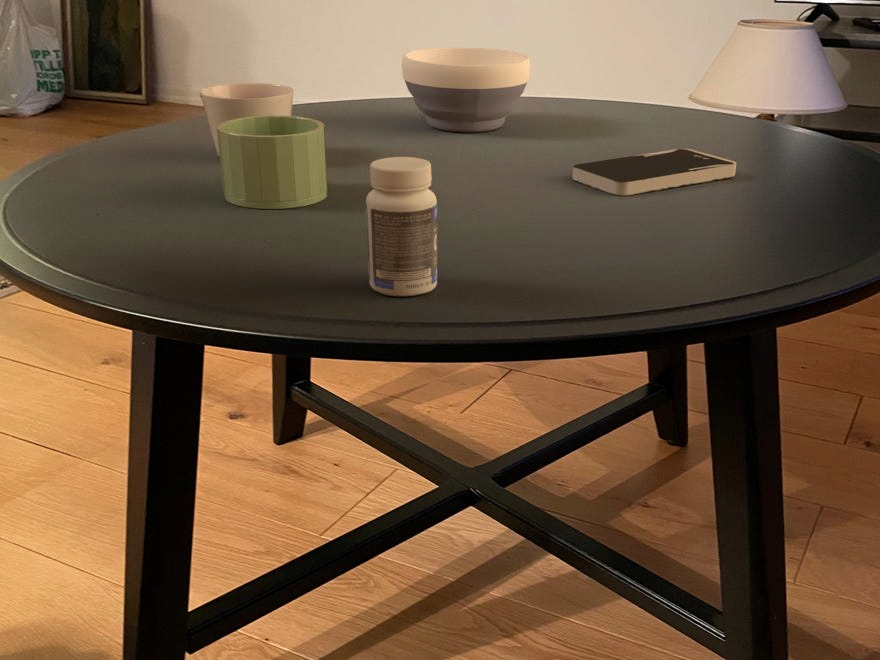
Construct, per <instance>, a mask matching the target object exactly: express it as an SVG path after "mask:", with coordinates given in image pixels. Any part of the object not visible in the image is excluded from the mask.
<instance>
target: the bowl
mask: <svg viewBox="0 0 880 660" xmlns="http://www.w3.org/2000/svg"><path fill="white" fill-rule="evenodd" d="M530 71H531V62H530V57H529V56H528V55H526V54H525V53H524V54H523V53H522V52H519V51H518V52H517V51H511V50H506V49H499V48H498V49H497V48H485V47H482V48H481V47H454V46H453V47H432V48H421V49H415V50H411V51H407V52H405V53H404V54H403V55H402V59H401V73H402V79H403V80H404V83H405V86H406V88H407V90H408V92H409V93H410V95H411V96H412V97H413V100H414V105H416V107H417V108H418V110H419V111H420V112H422V113H423V114H424V117H425V121H426V122H427V124H428V126H430V127H432V128H433V129H436V130H439V131H443V132H451V133H465V134H466V133H472V134H475V133H485V132H491V131H494V130H495V131H496V130H498V129H499V128H501V127H502V126H503V125H504V124H505V121H506V116H507V115H509V114H510V113H511V112H512V111H513V110H514V109H515V108H516V107H517V102H518V100H519V98H520V97H521V96H522V95H523V93H524V92H525V89H526V86H527V84H528V82H529V79H530Z"/></svg>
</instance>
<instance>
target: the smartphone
mask: <svg viewBox="0 0 880 660" xmlns="http://www.w3.org/2000/svg"><path fill="white" fill-rule="evenodd" d="M736 170H737V162H736V161H733V160H730V159H727V158H723V157H720V156H716V155H713V154H709V153H706V152H702V151H699V150H695V149H691V148H676V149H668V150H663V151H656V152H650V153H643V154H637V155H636V154H635V155H630V156H629V155H628V156H624V157H616V158H610V159H604V160H596V161H591V162H583V163H578V164H574V165H572V181H575V182H578V183H581V184H582V185H583V184H584V185H585V186H588V187H591V188H594V189H597V190H600V191H603V192H605V193H608V194H611V195H614V196H620V197H626V196H632V195H639V194H644V193H649V192H656V191H660V190H667V189H673V188H678V187H683V186H689V185H694V184H700V183H701V184H702V183H706V182H712V181H717V180H722V179H729V178H734V177H736Z"/></svg>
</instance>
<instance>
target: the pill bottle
mask: <svg viewBox="0 0 880 660" xmlns="http://www.w3.org/2000/svg"><path fill="white" fill-rule="evenodd" d="M369 177H370V178H369V179H370V181H369V182H370V186H371V187H372V188H373V189H372V190H370V191H369V192H368V194H367V195H366V197H365V215H366V235H367V237H366V239H367V265H368V282H369V286H370V287H371V289H372V290H374V291H375V292H377V293H379V294H381V295H384V296H389V297H413V296H419V295H424V294H427V293H430V292H431V291H433V290H434V289H435V288H436V286H437V285H438V201H437V200H438V199H437V197H436V195H435V193H434V192H433V191H432V190H431V189H429V187H431V186H432V180H433V178H432V164H431V162H430V161H429V160H427V159H424V158H419V157H411V156H393V157H392V156H391V157H384V158H381V159H380V158H379V159H375V160H374V161H372V162H371V163H370V165H369Z"/></svg>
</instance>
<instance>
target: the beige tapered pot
mask: <svg viewBox="0 0 880 660" xmlns="http://www.w3.org/2000/svg"><path fill="white" fill-rule="evenodd" d="M199 95H200V98H201V102H202V105H203V110H204V112H205V116H206V119H207V124H208V128H209V130H210V134H211V137H212V141H213V145H214V148H215V151H216V154H217V156H218V158H220V154H219V144H218V134H217V126H218V125H219V124H220V123H223V122H225V121H228V120H232V119H237V118H243V117H251V116H252V117H253V116H269V115H277V116H292V111H293V101H294V89H293V88H292V87H290V86H288V85H283V84H276V83H265V82H234V83H223V84H217V85H215V84H214V85H210V86H207V87H204V88H201V89H200V90H199Z"/></svg>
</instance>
